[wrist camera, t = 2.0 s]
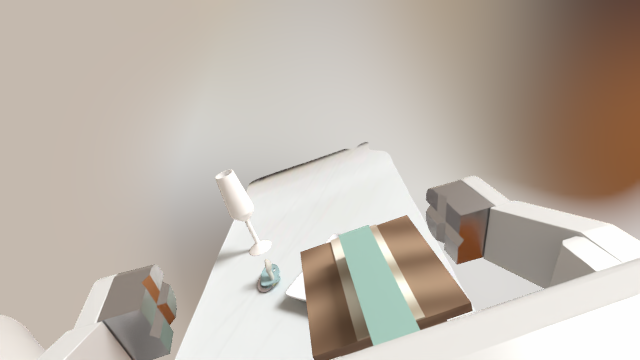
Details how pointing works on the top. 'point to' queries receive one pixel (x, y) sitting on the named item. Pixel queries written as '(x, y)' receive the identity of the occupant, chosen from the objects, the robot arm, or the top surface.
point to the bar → (376, 288)
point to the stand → (342, 301)
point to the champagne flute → (240, 207)
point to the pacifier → (268, 276)
